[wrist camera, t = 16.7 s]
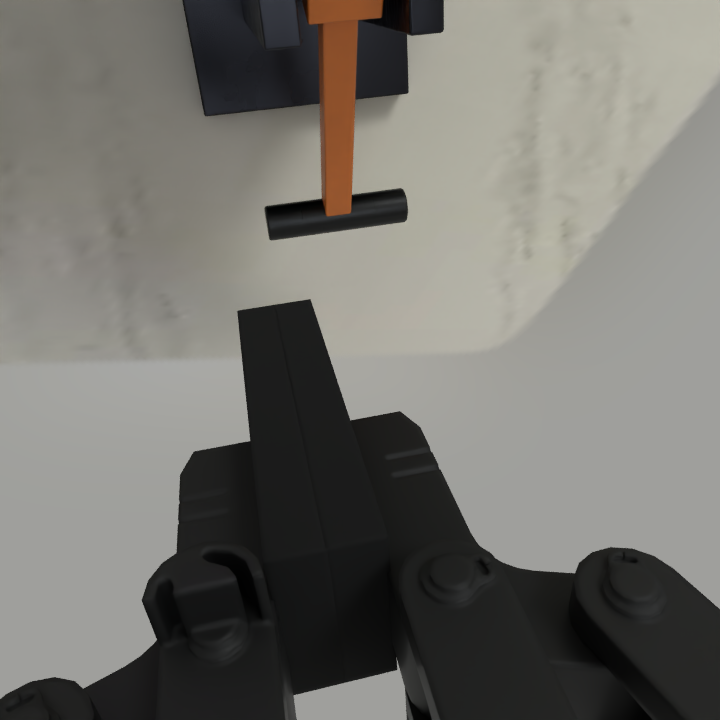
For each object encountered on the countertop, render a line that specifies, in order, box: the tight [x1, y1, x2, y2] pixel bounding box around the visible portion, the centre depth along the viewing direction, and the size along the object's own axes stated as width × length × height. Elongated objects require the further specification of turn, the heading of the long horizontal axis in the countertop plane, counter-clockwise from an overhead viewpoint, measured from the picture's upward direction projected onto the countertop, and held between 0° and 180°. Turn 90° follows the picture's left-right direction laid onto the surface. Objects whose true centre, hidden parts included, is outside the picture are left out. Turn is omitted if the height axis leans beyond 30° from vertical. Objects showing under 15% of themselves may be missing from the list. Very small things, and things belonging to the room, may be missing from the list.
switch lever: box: [265, 0, 408, 240], centre depth 22 cm, size 13×6×2 cm
